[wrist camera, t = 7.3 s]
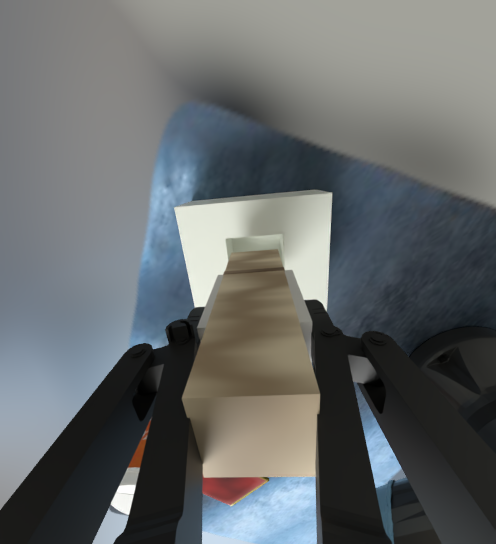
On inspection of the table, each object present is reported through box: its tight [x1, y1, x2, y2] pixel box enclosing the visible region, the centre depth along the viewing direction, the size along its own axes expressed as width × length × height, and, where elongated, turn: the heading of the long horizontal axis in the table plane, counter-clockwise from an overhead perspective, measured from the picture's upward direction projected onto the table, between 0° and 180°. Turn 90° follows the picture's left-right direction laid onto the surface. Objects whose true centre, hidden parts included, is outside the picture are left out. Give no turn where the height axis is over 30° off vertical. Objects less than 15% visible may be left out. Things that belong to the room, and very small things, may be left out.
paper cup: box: [111, 417, 152, 515], centre depth 32 cm, size 8×8×14 cm
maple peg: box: [182, 249, 320, 478], centre depth 14 cm, size 4×4×14 cm
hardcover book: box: [202, 476, 269, 506], centre depth 42 cm, size 12×21×4 cm, turn 53°
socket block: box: [174, 189, 332, 311], centre depth 25 cm, size 14×12×6 cm
